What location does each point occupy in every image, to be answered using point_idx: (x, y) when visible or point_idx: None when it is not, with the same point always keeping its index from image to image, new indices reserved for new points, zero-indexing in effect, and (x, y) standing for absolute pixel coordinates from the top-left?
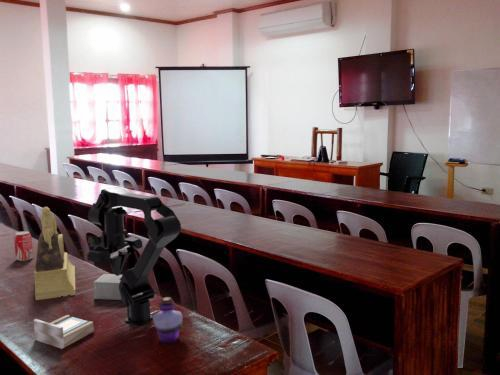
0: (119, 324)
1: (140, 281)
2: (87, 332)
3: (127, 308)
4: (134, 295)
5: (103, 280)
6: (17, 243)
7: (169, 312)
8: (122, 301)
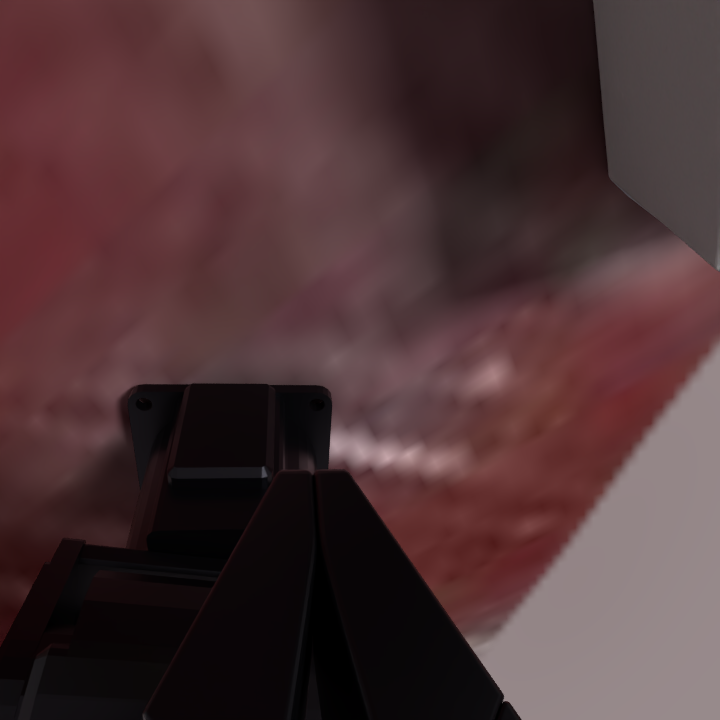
0: (64, 380)
1: None
2: None
3: (173, 450)
4: (630, 172)
5: None
6: None
7: None
8: (59, 549)
